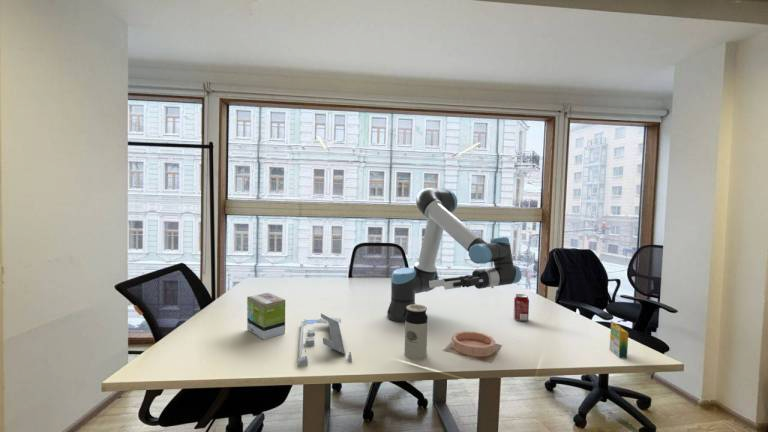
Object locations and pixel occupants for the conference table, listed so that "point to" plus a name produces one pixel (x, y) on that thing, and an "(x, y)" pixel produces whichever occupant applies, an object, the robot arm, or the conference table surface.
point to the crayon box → (618, 340)
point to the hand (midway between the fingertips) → (436, 285)
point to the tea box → (266, 315)
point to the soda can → (521, 307)
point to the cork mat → (487, 358)
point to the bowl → (473, 344)
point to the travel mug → (416, 332)
